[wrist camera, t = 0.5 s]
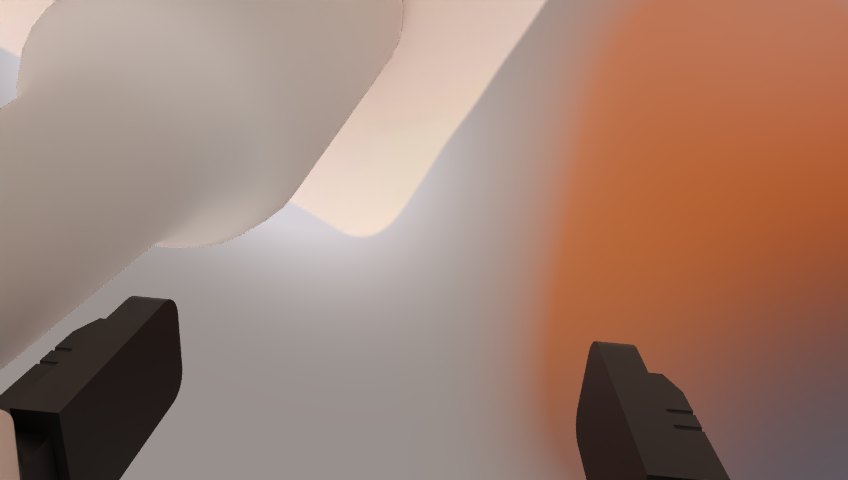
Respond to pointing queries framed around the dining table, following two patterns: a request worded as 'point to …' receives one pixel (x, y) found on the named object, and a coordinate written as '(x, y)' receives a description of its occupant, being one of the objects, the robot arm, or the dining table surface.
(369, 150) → the dining table surface
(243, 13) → the alcohol
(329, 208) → the dining table surface
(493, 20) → the dining table surface
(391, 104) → the dining table surface
